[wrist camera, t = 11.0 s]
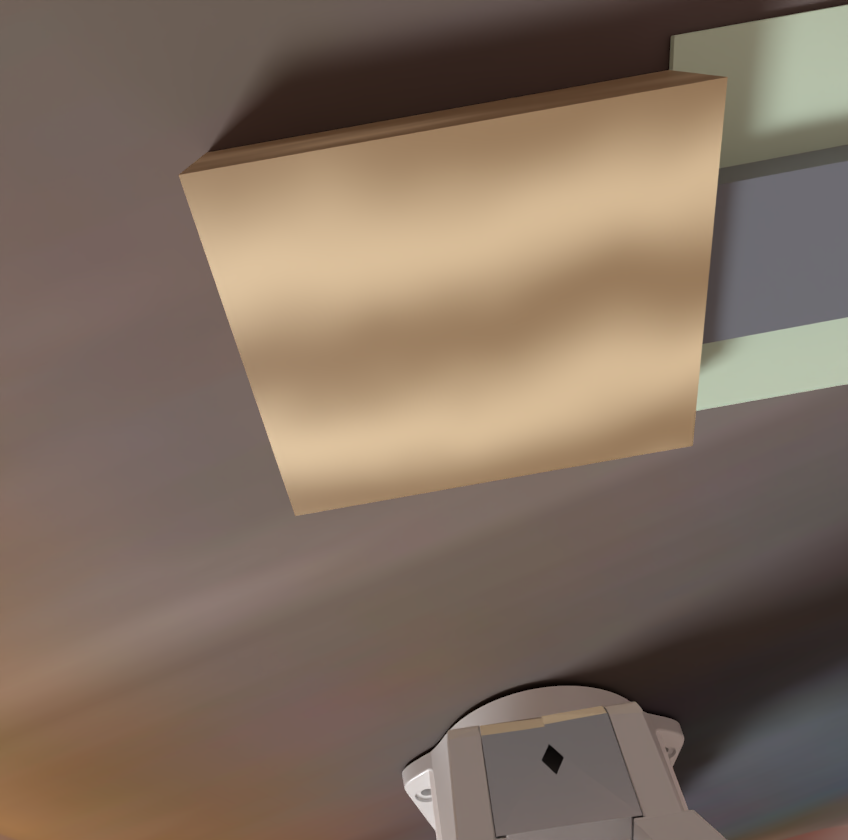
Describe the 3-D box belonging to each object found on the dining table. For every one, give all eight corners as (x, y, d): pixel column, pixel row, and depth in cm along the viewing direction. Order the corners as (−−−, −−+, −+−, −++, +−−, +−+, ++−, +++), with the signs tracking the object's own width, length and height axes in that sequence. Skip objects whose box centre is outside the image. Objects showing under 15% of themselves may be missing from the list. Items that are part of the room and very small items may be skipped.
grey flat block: (874, 288, 26) (909, 305, 24) (660, 327, 26) (681, 347, 24) (910, 132, 23) (954, 140, 21) (667, 178, 23) (691, 189, 21)
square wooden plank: (652, 396, 28) (692, 445, 25) (302, 458, 28) (295, 515, 25) (669, 70, 21) (727, 76, 18) (206, 152, 21) (178, 175, 18)
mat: (931, 365, 29) (936, 368, 29) (651, 414, 29) (654, 418, 29) (1057, -34, 21) (1066, -35, 21) (670, 35, 21) (674, 35, 21)
